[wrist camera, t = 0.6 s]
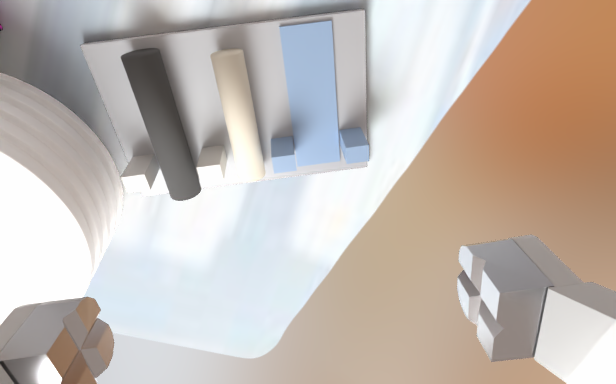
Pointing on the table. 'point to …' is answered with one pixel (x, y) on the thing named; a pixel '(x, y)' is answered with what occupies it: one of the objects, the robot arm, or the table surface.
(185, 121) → the rod display rack
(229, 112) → the rod
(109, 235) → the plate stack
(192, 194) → the dark gray rod
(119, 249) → the table surface
